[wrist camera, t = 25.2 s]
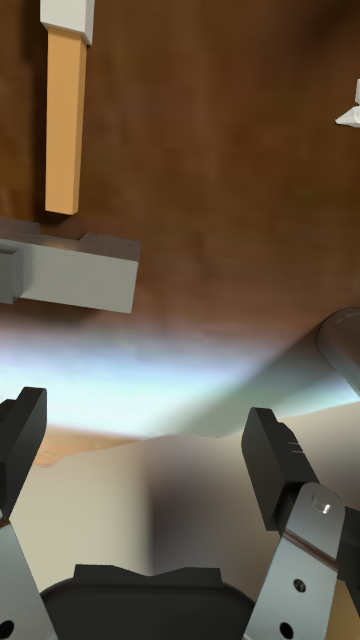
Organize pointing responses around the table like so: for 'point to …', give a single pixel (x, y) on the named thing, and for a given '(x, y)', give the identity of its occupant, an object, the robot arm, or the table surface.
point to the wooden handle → (65, 97)
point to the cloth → (352, 112)
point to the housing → (67, 267)
